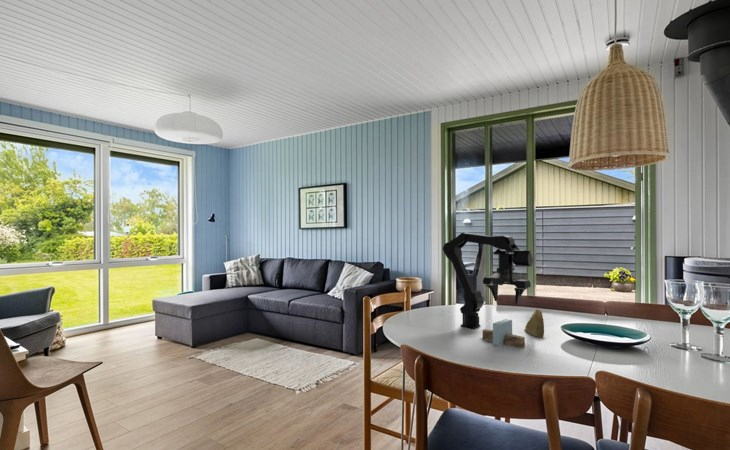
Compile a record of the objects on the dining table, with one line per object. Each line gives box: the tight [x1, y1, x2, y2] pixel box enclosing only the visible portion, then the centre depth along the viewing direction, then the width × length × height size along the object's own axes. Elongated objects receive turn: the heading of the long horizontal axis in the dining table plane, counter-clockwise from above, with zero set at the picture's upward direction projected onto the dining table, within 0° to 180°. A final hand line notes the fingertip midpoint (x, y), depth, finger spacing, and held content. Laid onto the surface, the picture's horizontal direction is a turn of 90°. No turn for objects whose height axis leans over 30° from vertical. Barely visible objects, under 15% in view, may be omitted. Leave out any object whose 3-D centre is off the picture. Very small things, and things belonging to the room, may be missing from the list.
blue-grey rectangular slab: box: [492, 318, 513, 347], centre depth 149 cm, size 10×2×8 cm, turn 132°
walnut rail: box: [481, 328, 526, 349], centre depth 149 cm, size 16×2×4 cm, turn 42°
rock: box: [524, 309, 545, 338], centre depth 160 cm, size 11×9×10 cm
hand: (506, 302), depth 162 cm, fingers open, 9 cm apart
